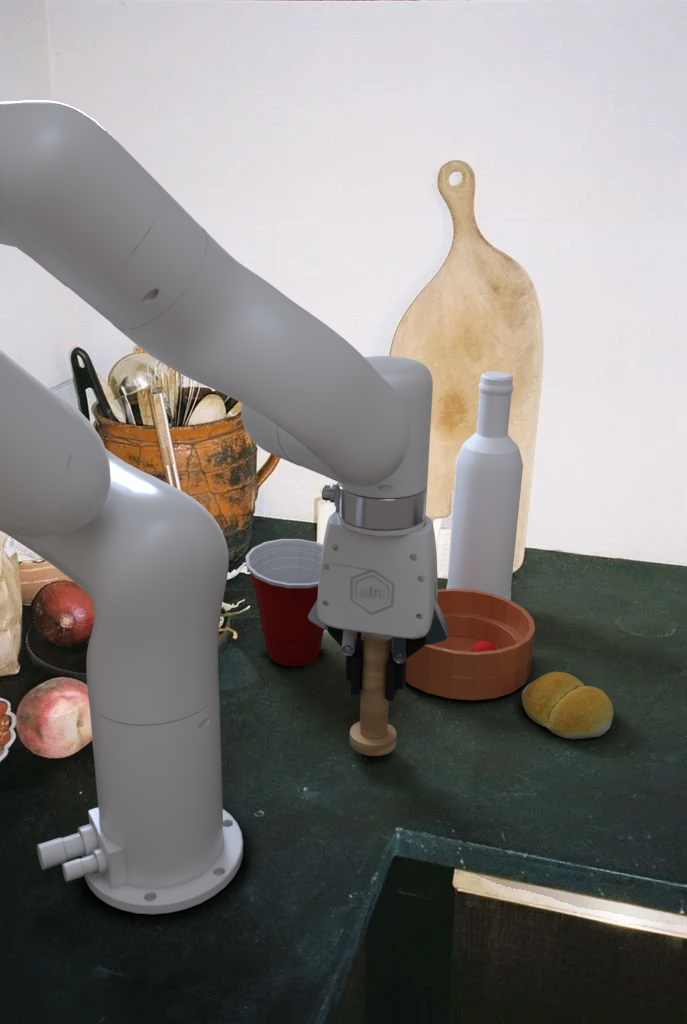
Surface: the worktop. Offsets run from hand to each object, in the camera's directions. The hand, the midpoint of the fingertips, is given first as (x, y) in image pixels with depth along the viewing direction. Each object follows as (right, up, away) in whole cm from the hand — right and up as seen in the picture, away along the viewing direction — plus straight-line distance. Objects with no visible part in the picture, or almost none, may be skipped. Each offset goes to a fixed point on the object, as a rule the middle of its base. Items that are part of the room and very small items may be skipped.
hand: (375, 689), depth 86 cm
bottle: (+14, +4, +31) cm, 34 cm away
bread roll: (+20, -5, +9) cm, 22 cm away
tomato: (+12, +1, +16) cm, 21 cm away
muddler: (0, -5, +2) cm, 6 cm away
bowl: (+10, -1, +18) cm, 20 cm away
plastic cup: (-8, 0, +20) cm, 21 cm away
